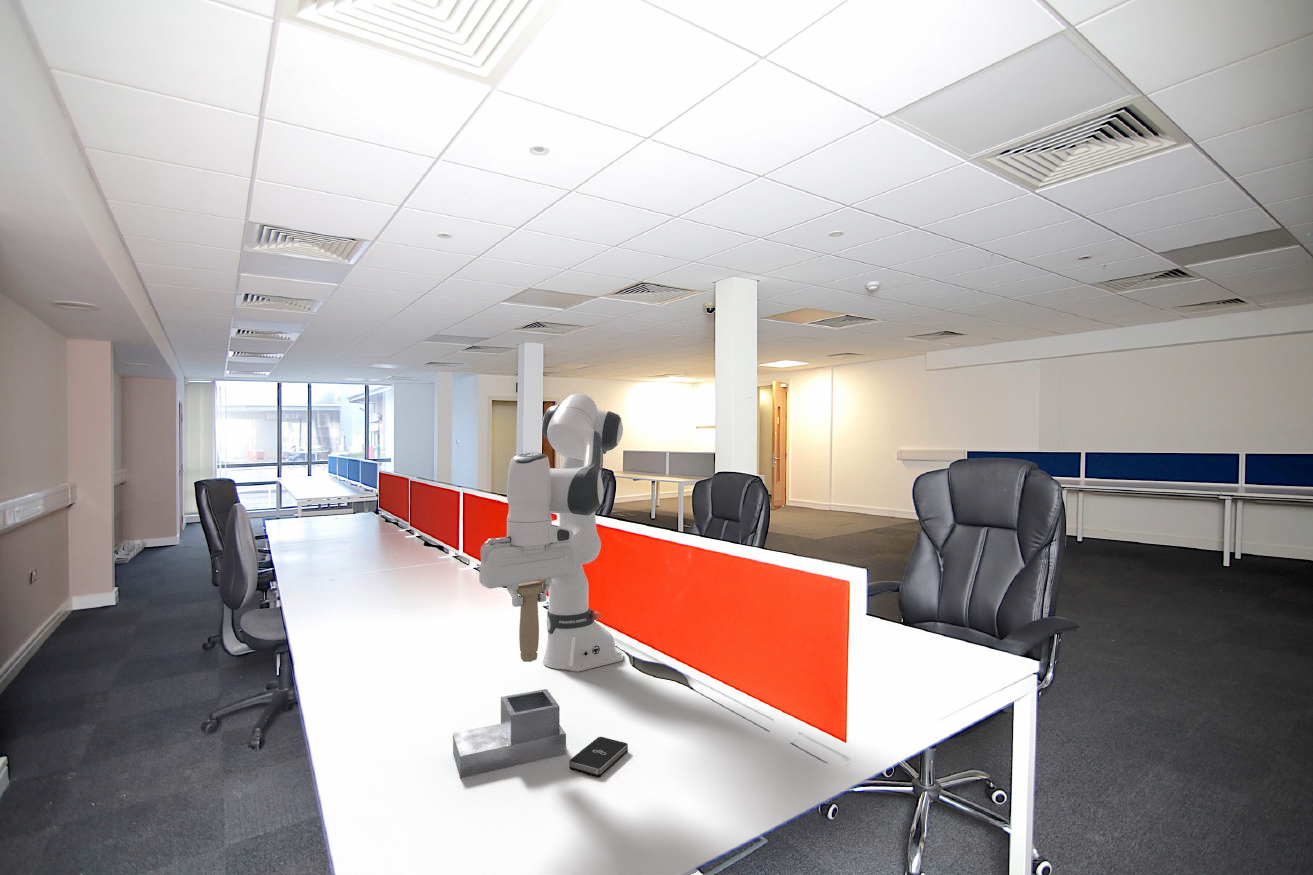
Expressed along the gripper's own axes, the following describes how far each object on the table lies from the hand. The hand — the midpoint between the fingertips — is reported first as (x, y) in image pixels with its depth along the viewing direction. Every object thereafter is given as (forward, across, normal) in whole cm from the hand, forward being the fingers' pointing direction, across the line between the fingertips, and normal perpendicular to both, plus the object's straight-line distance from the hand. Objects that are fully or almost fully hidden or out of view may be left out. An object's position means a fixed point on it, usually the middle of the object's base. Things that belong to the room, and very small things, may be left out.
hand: (529, 603), depth 123 cm
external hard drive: (+30, +8, -13) cm, 33 cm away
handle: (+12, 0, 0) cm, 12 cm away
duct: (+29, -4, +1) cm, 29 cm away
